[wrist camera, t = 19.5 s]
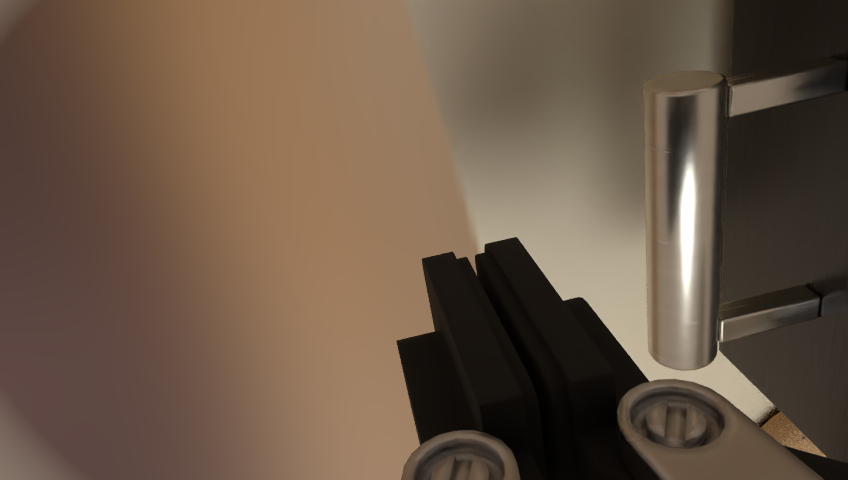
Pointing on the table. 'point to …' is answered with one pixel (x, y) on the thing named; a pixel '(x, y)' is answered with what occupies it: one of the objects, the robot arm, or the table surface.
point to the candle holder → (789, 434)
